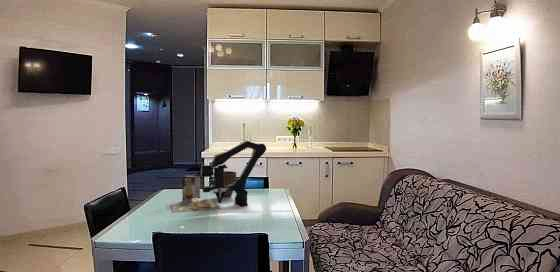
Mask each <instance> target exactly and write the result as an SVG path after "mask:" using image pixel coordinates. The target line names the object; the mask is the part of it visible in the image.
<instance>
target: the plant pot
mask: <svg viewBox="0 0 560 272" xmlns="http://www.w3.org/2000/svg"><path fill="white" fill-rule="evenodd" d="M212 176H213V177H214V172H213V175H212ZM235 178H237V172H236V171H233V170H232V171H231V170H230V171H229V170H228V171H227V170H226V171H225V170H224V186H228V185H231V184H232V183H233V182H234V180H235ZM216 189H217V188H216ZM218 192H219V197H220V190H218ZM233 193H234V191H231V190H230V189H226V193H224V195H223V198H222V199H224V198H232V196H233Z"/></svg>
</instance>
